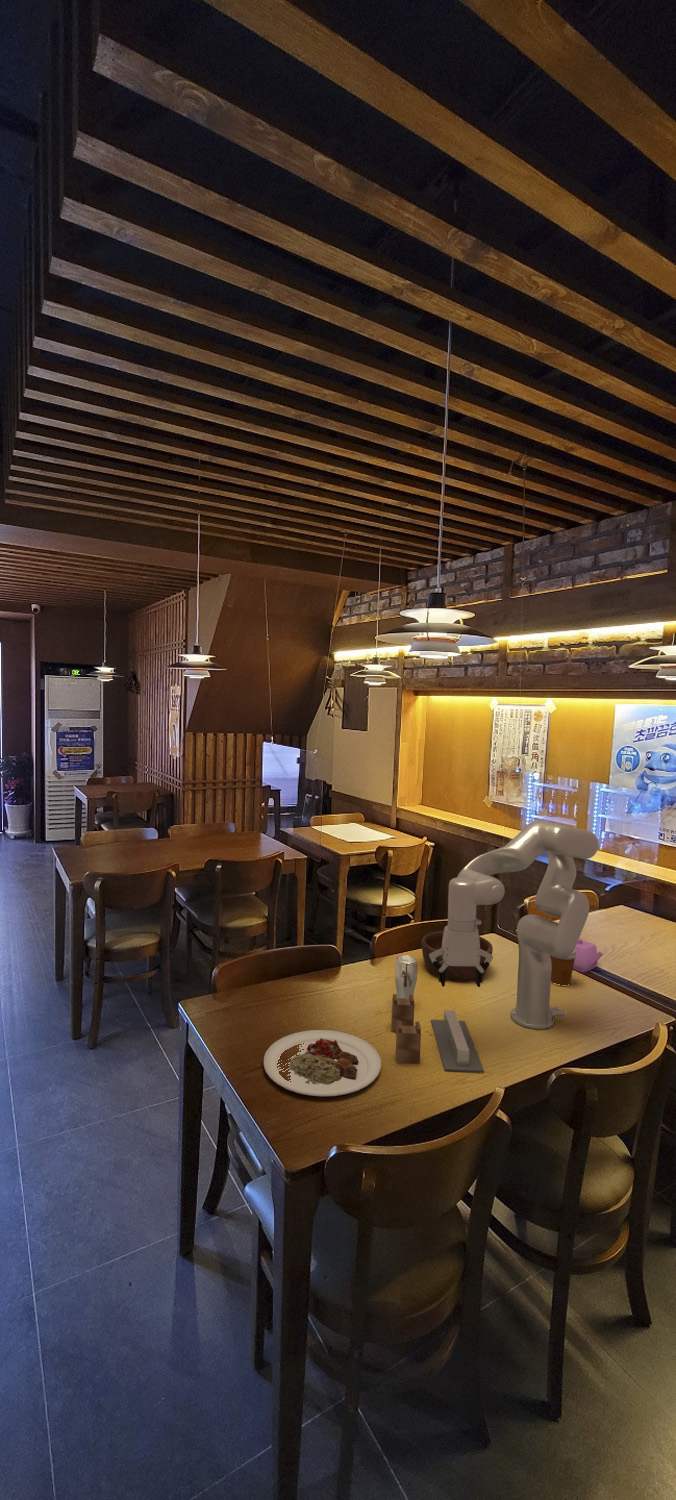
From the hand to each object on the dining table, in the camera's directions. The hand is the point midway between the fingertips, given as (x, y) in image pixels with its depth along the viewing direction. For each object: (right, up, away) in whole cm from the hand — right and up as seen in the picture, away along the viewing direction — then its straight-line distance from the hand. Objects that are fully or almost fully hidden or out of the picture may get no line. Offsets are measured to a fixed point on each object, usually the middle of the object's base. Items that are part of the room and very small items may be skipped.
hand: (460, 984), depth 173 cm
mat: (-1, -17, +1) cm, 17 cm away
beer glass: (-13, -15, +23) cm, 30 cm away
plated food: (-38, -17, -12) cm, 43 cm away
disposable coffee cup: (+43, -16, +45) cm, 65 cm away
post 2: (-15, -17, -7) cm, 24 cm away
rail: (-1, -16, 0) cm, 16 cm away
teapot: (+56, -16, +61) cm, 84 cm away
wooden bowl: (+9, -15, +52) cm, 55 cm away
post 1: (-15, -16, +9) cm, 24 cm away
